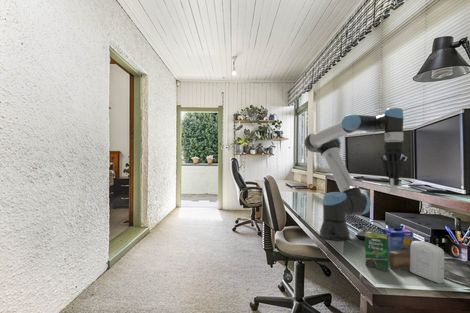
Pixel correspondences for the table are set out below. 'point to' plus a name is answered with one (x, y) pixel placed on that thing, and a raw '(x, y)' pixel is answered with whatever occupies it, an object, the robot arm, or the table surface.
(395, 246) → the ink cartridge box
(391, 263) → the walnut fence board
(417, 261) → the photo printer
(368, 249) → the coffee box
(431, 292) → the table surface
